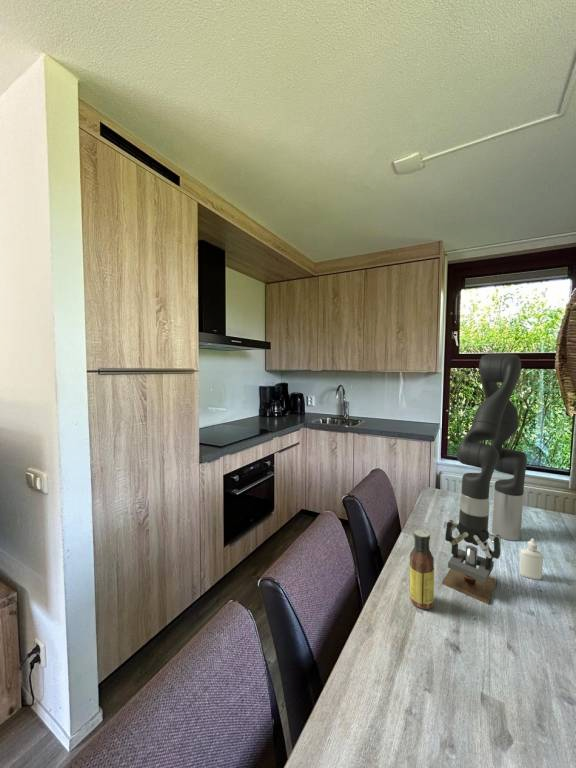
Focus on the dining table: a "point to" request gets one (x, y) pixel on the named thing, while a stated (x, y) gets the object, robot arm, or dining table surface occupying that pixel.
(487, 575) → the collar
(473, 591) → the bronze plate with post
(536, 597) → the dining table surface
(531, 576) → the eye dropper bottle
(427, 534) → the sauce bottle
